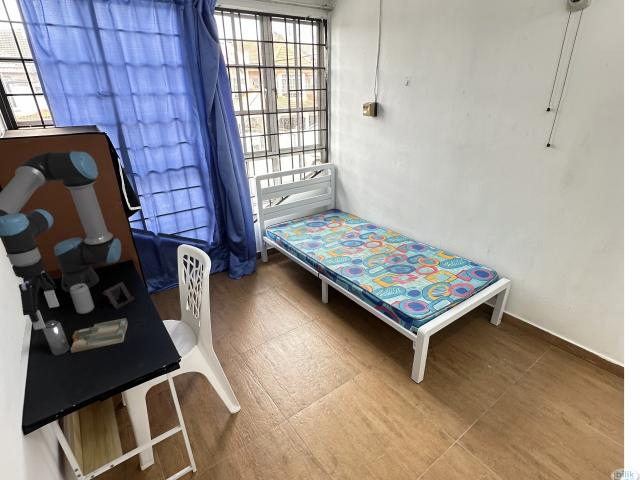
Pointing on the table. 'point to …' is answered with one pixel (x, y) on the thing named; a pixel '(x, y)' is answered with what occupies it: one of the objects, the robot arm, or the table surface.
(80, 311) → the beverage can
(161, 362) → the table surface
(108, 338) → the dock mount
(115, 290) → the dark hollow square block
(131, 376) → the table surface
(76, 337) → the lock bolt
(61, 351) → the metal bottle
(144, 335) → the table surface
